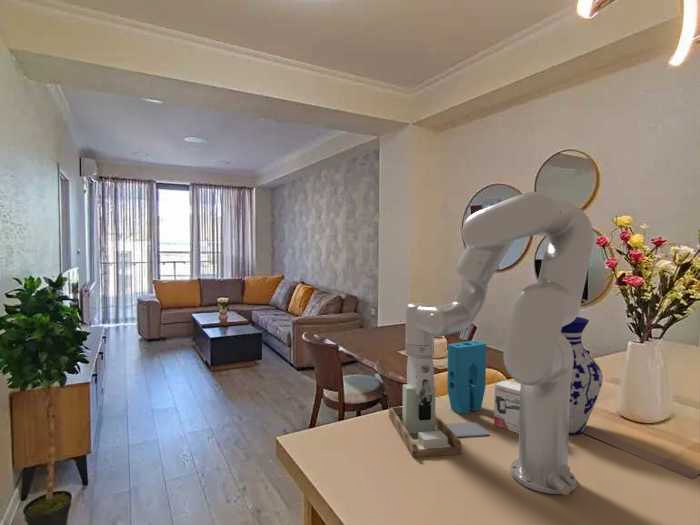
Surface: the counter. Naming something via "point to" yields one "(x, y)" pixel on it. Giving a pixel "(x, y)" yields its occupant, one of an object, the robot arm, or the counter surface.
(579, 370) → the vase
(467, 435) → the felt mat
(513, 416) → the ink box
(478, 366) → the block
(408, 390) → the sage green box
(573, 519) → the counter surface
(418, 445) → the offcut low
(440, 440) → the offcut top
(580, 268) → the robot arm
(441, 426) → the tray
